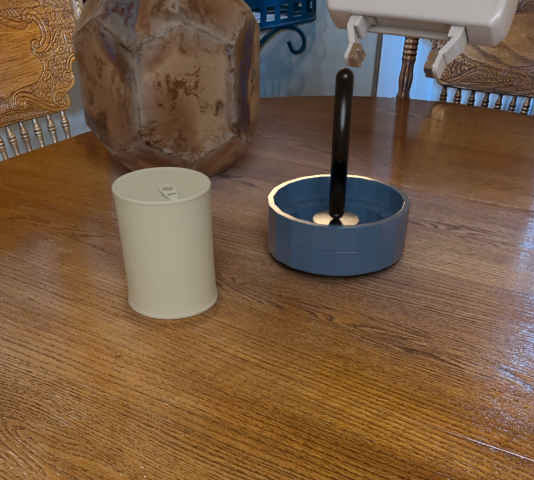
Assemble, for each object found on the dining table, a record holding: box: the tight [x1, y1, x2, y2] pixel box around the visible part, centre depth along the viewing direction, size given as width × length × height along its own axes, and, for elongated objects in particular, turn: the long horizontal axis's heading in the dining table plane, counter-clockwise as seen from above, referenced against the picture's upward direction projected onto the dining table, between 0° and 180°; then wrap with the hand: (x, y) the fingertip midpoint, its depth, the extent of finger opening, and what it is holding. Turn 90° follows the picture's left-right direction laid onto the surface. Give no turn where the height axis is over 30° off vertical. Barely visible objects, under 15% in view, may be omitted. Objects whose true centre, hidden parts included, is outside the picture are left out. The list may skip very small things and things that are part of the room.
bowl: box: [266, 173, 411, 277], centre depth 78 cm, size 15×15×6 cm
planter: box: [71, 0, 261, 178], centre depth 93 cm, size 22×24×24 cm
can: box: [111, 167, 219, 320], centre depth 68 cm, size 9×9×12 cm
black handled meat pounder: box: [312, 67, 359, 225], centre depth 74 cm, size 5×5×18 cm
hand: (390, 69), depth 74 cm, fingers open, 8 cm apart
